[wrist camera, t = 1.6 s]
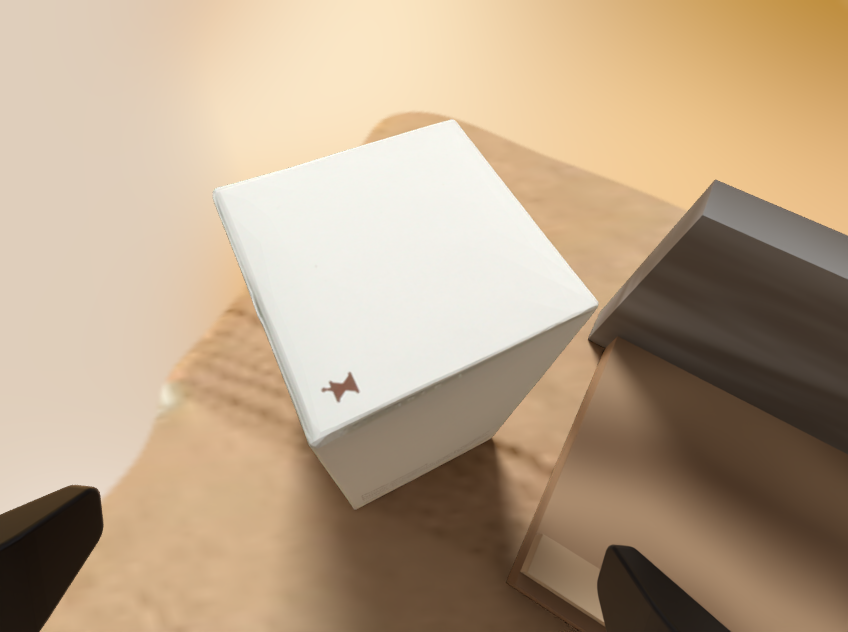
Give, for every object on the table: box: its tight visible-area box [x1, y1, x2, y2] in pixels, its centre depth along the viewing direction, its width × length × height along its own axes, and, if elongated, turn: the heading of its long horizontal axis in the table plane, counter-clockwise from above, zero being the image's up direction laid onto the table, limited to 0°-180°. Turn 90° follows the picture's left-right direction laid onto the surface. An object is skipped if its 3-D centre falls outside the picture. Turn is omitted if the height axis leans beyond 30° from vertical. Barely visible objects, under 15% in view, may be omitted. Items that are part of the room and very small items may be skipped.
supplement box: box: [213, 119, 598, 510], centre depth 16 cm, size 7×7×13 cm
